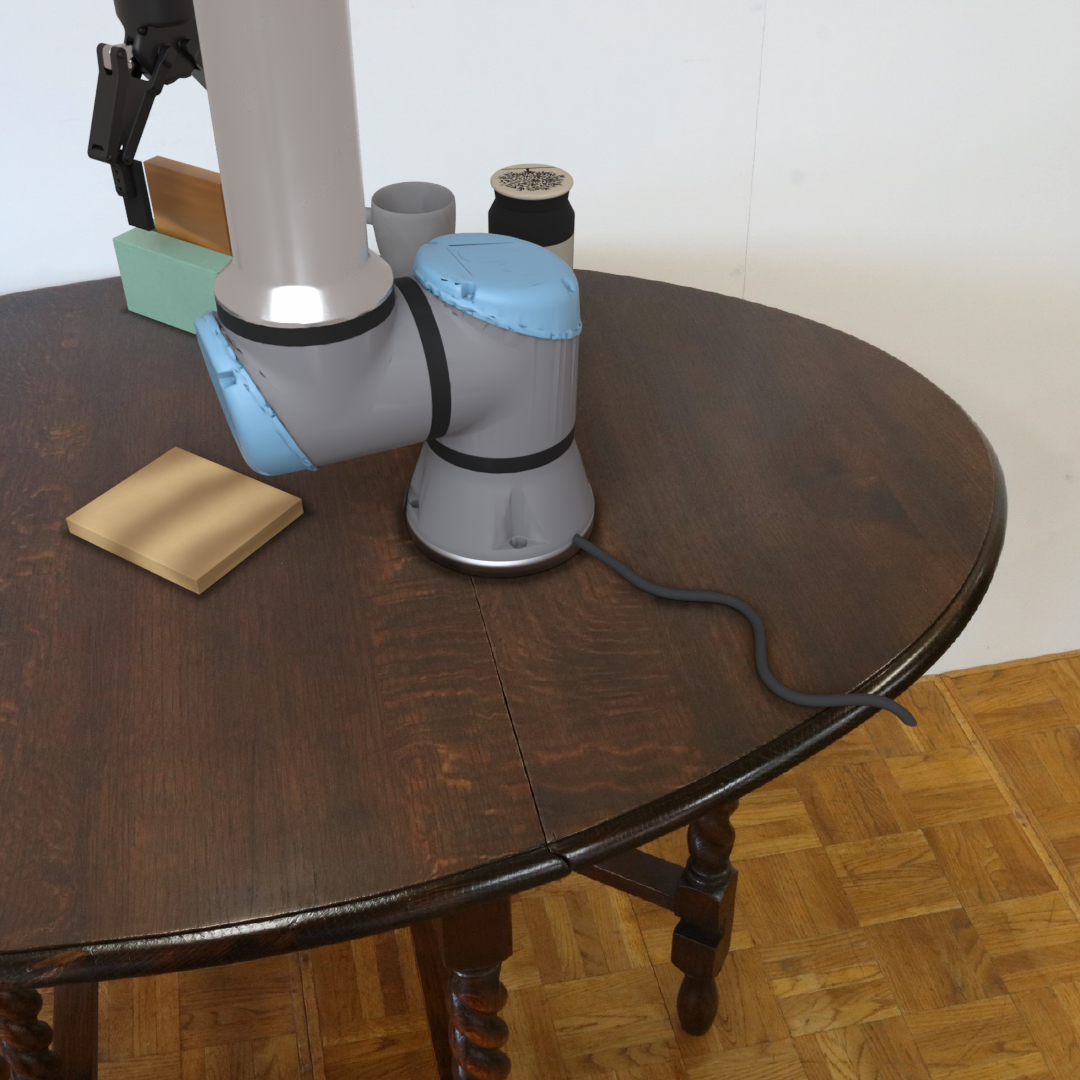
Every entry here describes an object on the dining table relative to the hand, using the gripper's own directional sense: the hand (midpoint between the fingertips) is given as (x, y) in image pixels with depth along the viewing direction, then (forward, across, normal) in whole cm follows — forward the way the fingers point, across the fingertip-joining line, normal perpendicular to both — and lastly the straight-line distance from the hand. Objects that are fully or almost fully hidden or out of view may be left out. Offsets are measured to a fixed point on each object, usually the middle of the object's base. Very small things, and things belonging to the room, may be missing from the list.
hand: (193, 202), depth 117 cm
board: (+11, +28, +24) cm, 39 cm away
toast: (+8, 0, 0) cm, 9 cm away
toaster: (+12, 0, 0) cm, 12 cm away
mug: (+12, -16, +13) cm, 24 cm away
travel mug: (+12, -10, +33) cm, 36 cm away
